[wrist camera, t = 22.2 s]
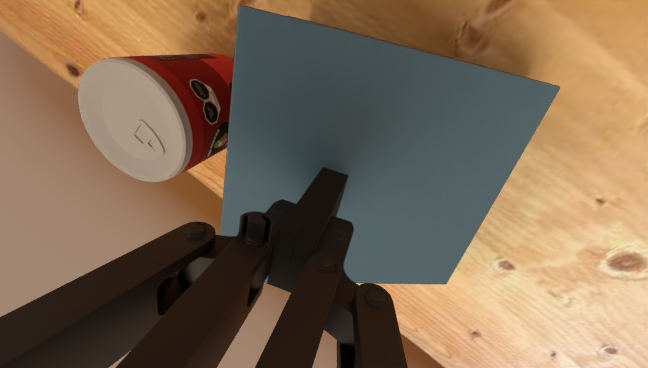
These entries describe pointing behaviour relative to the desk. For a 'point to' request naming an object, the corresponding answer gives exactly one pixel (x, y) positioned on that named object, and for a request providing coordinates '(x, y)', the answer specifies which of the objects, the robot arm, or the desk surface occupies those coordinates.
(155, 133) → the canned food
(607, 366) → the desk surface
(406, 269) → the lunchbox lid
